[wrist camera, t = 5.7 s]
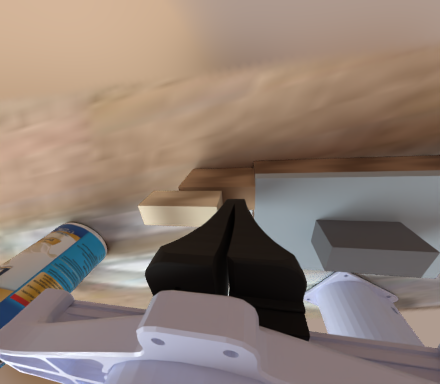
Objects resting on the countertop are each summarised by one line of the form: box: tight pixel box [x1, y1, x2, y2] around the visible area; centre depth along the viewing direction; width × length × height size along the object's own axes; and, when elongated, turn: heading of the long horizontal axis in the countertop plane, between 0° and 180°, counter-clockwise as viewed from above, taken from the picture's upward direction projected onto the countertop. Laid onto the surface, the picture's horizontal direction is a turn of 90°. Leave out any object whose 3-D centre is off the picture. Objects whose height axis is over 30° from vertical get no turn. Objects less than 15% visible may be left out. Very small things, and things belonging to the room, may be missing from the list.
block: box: [138, 191, 223, 227], centre depth 13 cm, size 6×2×2 cm, turn 95°
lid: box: [254, 170, 440, 279], centre depth 13 cm, size 16×10×5 cm, turn 95°
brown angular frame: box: [178, 155, 440, 218], centre depth 16 cm, size 22×10×4 cm, turn 95°
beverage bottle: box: [0, 223, 107, 368], centre depth 18 cm, size 8×8×20 cm
